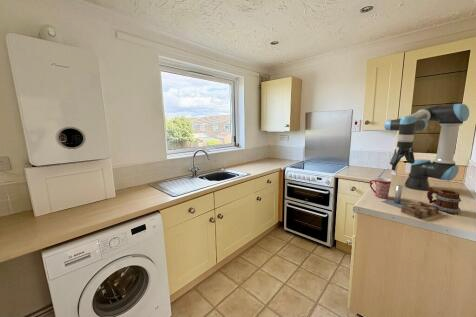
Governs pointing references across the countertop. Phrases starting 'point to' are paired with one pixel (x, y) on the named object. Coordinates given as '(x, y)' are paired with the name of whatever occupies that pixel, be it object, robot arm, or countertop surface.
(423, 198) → the countertop surface
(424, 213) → the hole block
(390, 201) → the mat
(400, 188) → the peg
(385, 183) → the mug
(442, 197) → the mug
